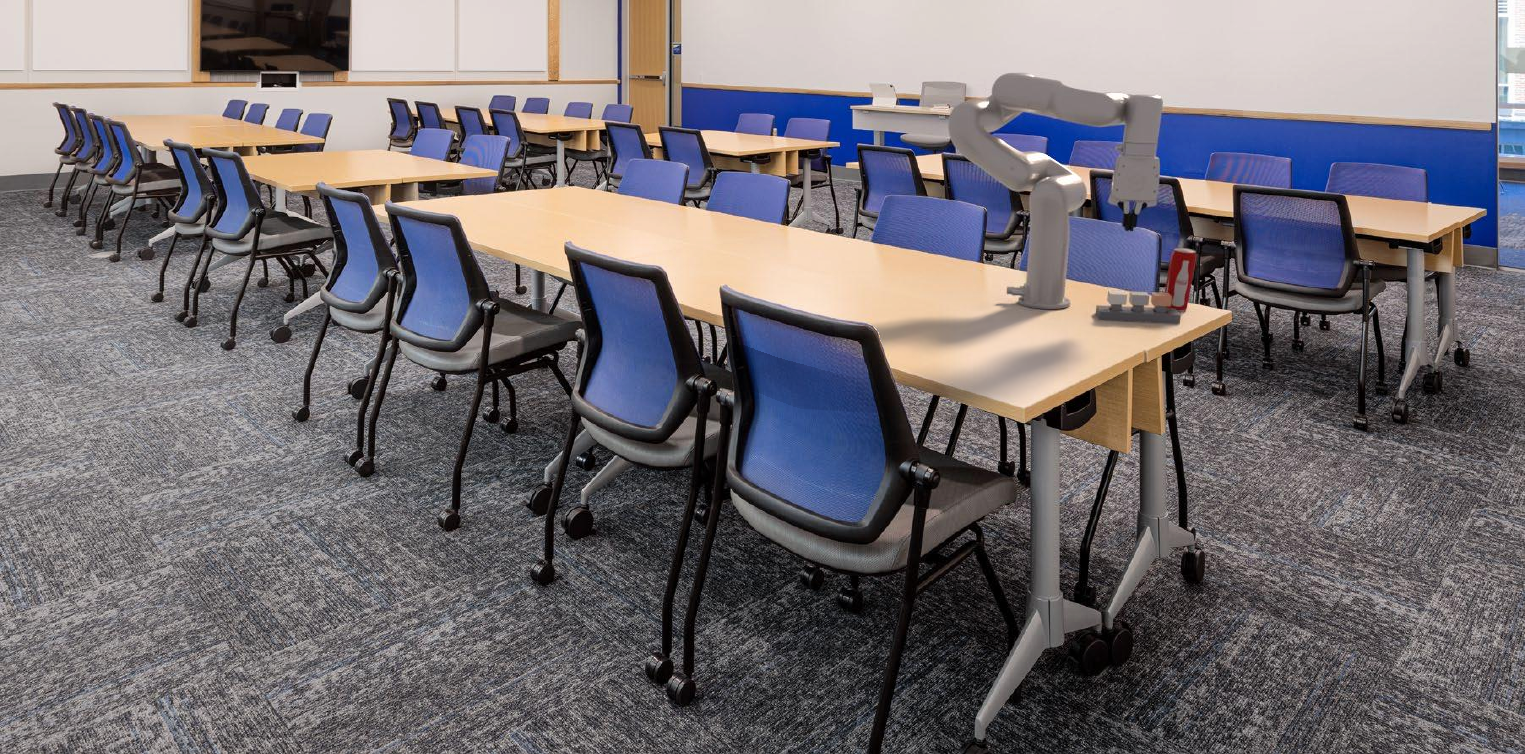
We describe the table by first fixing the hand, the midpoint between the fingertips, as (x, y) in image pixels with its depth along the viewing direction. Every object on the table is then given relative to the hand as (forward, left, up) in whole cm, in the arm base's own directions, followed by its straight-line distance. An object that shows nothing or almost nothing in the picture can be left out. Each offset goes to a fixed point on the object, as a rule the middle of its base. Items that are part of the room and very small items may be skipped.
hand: (1128, 230), depth 243 cm
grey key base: (+4, -2, -21) cm, 21 cm away
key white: (-1, -2, -20) cm, 20 cm away
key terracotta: (+9, -2, -20) cm, 21 cm away
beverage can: (+15, +9, -21) cm, 27 cm away
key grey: (+4, -2, -20) cm, 20 cm away
